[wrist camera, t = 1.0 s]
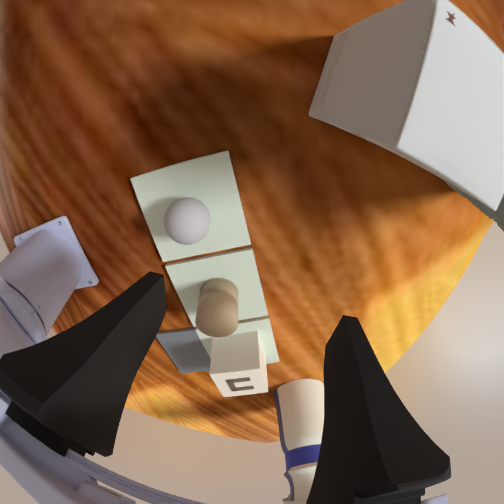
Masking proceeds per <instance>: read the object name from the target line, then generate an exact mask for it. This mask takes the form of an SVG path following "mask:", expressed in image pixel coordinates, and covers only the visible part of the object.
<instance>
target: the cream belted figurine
mask: <svg viewBox="0 0 504 504" xmlns="http://www.w3.org/2000/svg"><path fill="white" fill-rule="evenodd" d="M274 398H275V404H276V410H277V417H278V424H279V433H280V441H281V447H282V450H283V452H284V453H285V460H286V470H287V471H286V472H285V473H284V476H285V477H286V478H287V479H288V481H289V484H290V489H291V493H290V494H289V496H288V497H287V498H285V499H283V502H284V504H306V502H307V499H308V496H309V493H310V489H311V486H312V482H313V479H314V475H315V471H316V466H317V462H318V457H319V451H320V446H321V439H322V432H323V425H324V384H323V383H322V382H321V381H319V380H315V379H299V380H294V381H290V382H287V383H285V384H283V385H281V386H280V387H278V388H277V389H276V390H275V392H274Z"/></svg>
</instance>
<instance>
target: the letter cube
mask: <svg viewBox="0 0 504 504" xmlns="http://www.w3.org/2000/svg"><path fill="white" fill-rule="evenodd" d="M210 376H211V378H212V379H213V381H214V382H215V384H216V386H217V387H218V389H219V390H220V392H221V393H222V395H223V397H230V396H240V395H249V394H257V393H265V392H268V382H267V370H266V358H265V354H264V351H263V347H262V344H261V341H260V337H259V334H258V331H251V332H245V333H238V334H231V335H229V336H226V337H213V338H212V350H211V362H210Z"/></svg>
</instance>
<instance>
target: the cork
mask: <svg viewBox="0 0 504 504" xmlns="http://www.w3.org/2000/svg"><path fill="white" fill-rule="evenodd" d="M195 324H196V327H197V328H198V329H199V331H201V332H202V333H203V334H205V335H208V336H211V337H226V336H229V335H231V334H232V333H234V332H235V331H236V329H237V327H238V289H237V287H236V286H235V284H234V283H232V282H231V281H229V280H227V279H224V278H212V279H209V280H207V281H206V282H205V283H203V285H202V286H201V289H200V295H199V301H198V307H197V312H196V318H195Z"/></svg>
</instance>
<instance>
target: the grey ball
mask: <svg viewBox="0 0 504 504" xmlns="http://www.w3.org/2000/svg"><path fill="white" fill-rule="evenodd" d="M210 224H211V217H210V213H209V211H208V209H207V207H206V206H205V205H204V204H203V203H202V202H201V201H199V200H197V199H195V198H191V197H185V198H180V199H178V200H176V201H174V202H173V203H172V204H171V205H170V206H169V207H168V209H167V210H166V213H165V216H164V227H165V230H166V232H167V234H168V236H169V237H170V238H171V239H172V240H174V241H175V242H177V243H179V244H183V245H191V244H195V243H197V242H199V241H200V240H202V239H203V238H204V237H205V236H206V234H207V233H208V231H209V228H210Z"/></svg>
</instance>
